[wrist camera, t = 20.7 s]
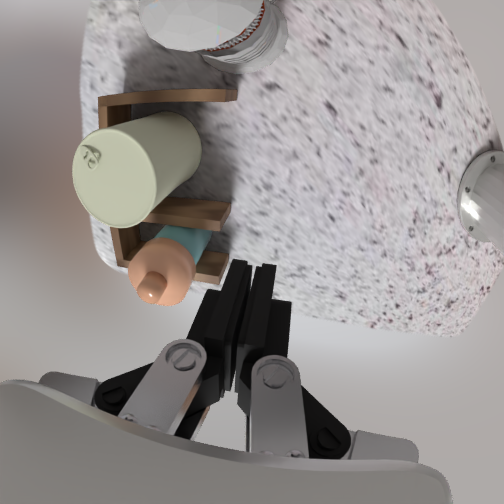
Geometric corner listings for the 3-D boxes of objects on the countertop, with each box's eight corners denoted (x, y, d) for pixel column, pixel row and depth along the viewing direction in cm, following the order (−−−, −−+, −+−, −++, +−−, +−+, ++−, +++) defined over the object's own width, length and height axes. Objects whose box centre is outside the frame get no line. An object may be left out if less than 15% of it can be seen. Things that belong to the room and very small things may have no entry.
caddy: (237, 89, 26) (225, 89, 22) (228, 261, 38) (219, 284, 34) (122, 93, 28) (98, 96, 23) (134, 246, 39) (117, 266, 35)
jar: (212, 211, 34) (190, 244, 28) (212, 250, 37) (193, 288, 31) (169, 206, 35) (140, 237, 28) (172, 244, 38) (147, 279, 31)
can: (165, 95, 28) (101, 105, 18) (218, 152, 30) (177, 187, 20) (119, 148, 32) (55, 181, 22) (166, 199, 35) (116, 249, 24)
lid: (195, 242, 28) (177, 272, 23) (196, 292, 31) (181, 325, 27) (137, 233, 28) (113, 259, 24) (144, 281, 31) (125, 310, 27)
